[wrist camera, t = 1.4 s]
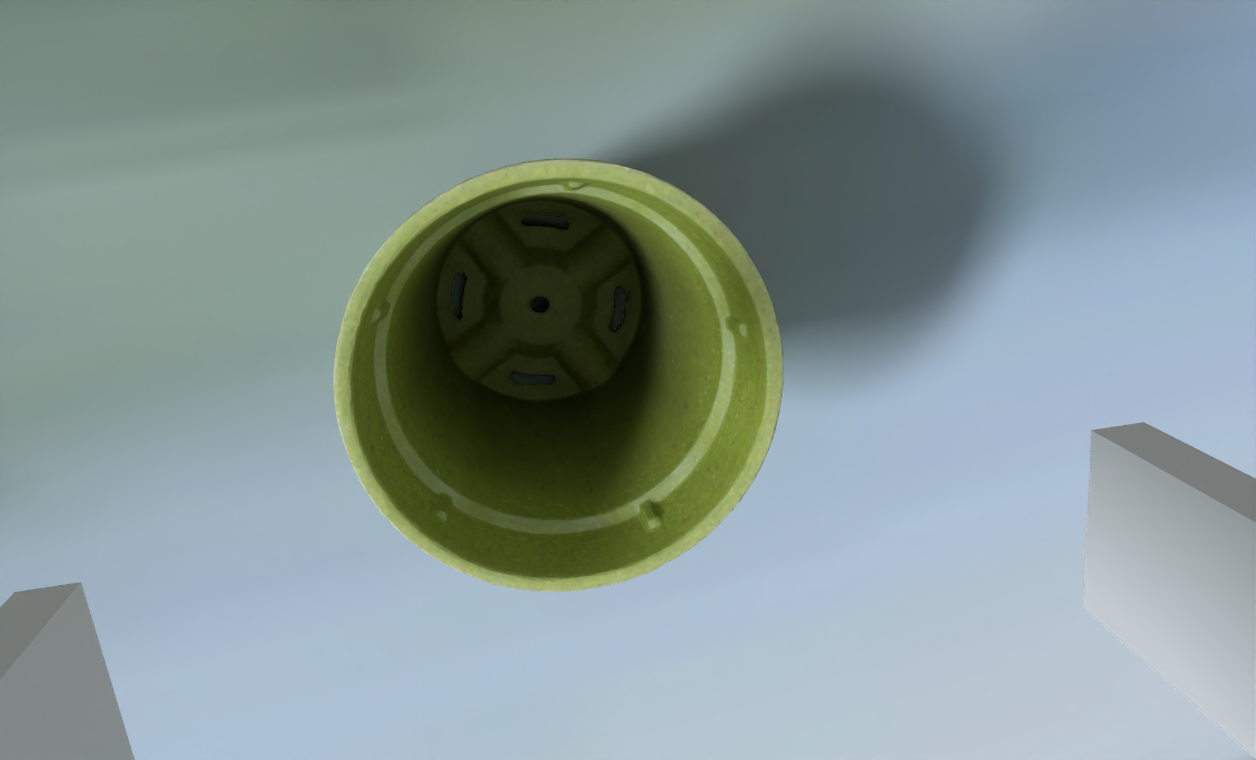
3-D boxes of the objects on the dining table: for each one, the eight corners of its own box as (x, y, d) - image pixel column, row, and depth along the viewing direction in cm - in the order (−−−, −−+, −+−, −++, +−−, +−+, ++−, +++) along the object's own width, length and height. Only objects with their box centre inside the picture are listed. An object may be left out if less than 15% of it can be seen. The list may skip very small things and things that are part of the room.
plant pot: (716, 148, 28) (813, 177, 19) (683, 455, 30) (757, 594, 22) (379, 121, 26) (333, 140, 18) (376, 447, 29) (333, 593, 21)
